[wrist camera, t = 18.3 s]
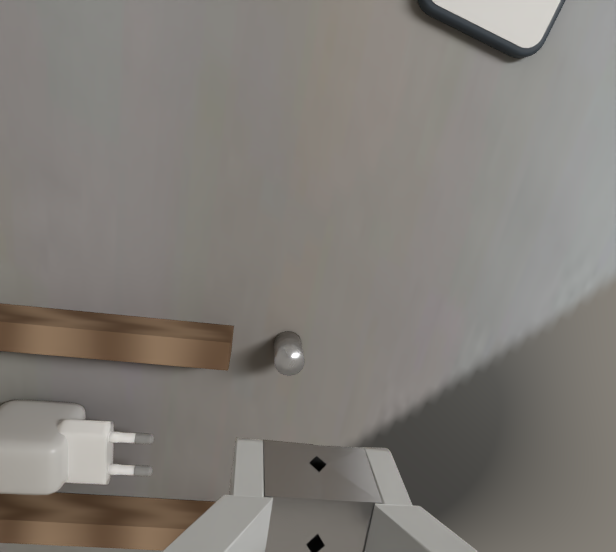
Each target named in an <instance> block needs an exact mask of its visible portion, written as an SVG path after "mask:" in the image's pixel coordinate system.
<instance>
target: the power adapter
mask: <svg viewBox="0 0 616 552" xmlns="http://www.w3.org/2000/svg"><path fill="white" fill-rule="evenodd" d="M113 423H114V422H111V421H96V420H86V416H85V408H84V407H82V406H81V405H79V404H77V403H68V402H55V401H39V400H12V401H9V402H6V403H3V404H2V405H1V406H0V494H19V495H49V494H52V493H55V492H57V491H58V490H60V488H61V487H62V486H63V484H64V483H83V484H104V485H106V484H109V482H110V479H111V475H134V476H150V475H151V474H152V472H153V468H152V467H151V466H144V465H120V464H113V449H114V443H119V442H124V443H135V444H152V443H153V441H154V436H153V434H148V433H122V432H115V431H114V426H113Z"/></svg>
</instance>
